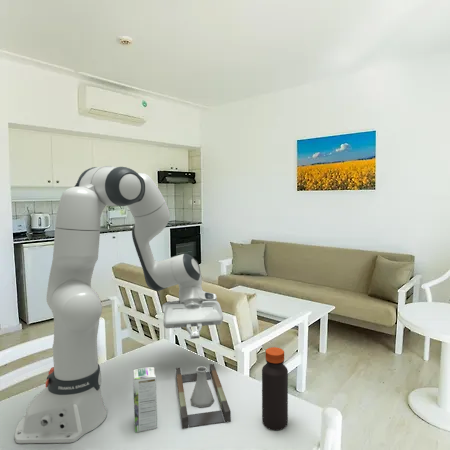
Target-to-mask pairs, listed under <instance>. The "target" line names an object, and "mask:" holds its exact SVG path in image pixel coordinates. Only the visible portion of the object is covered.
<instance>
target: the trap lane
mask: <svg viewBox="0 0 450 450" xmlns="http://www.w3.org/2000/svg"><path fill="white" fill-rule="evenodd" d="M206 377H207V381H208V380H212V384H213V387H214V390H215V394H216V396H217V400H218V403H219V408H220V409H219V410H214V411H206V412H197V413H192V414H188V409H187V401H186V396H185V388H184V384H185V383H191V382H192V383H193V382H196V381H197V372H196V373H188V374H182V371H181V367H176V368H175V379H176V385H177V386H176V387H177V395H178V402H179V410H180V411H179V412H180V419H181V427H182V429H188V428H189V429H190V428H195V427H204V426H210V425H216V424H224V423H230V422H231V420H232V419H231V418H232V417H231V408H230V405H229V403H228V401H227V397H226V394H225V391H224V388H223V385H222V383H221V380H220V378H219V377H220V376H219V375H218V371H217V368H216V366H215V364H214V363H210V364H209V371H206Z"/></svg>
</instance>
